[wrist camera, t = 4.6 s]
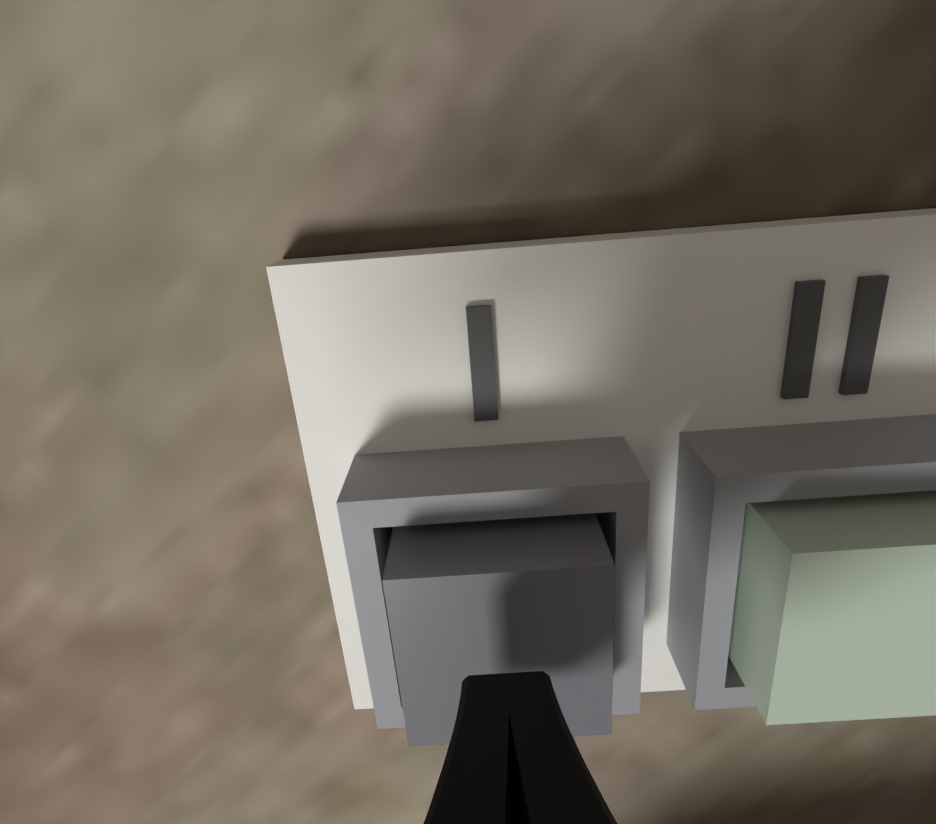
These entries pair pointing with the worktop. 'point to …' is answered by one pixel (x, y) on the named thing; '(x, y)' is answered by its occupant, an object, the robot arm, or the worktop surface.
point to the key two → (838, 608)
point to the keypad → (610, 409)
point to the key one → (501, 615)
